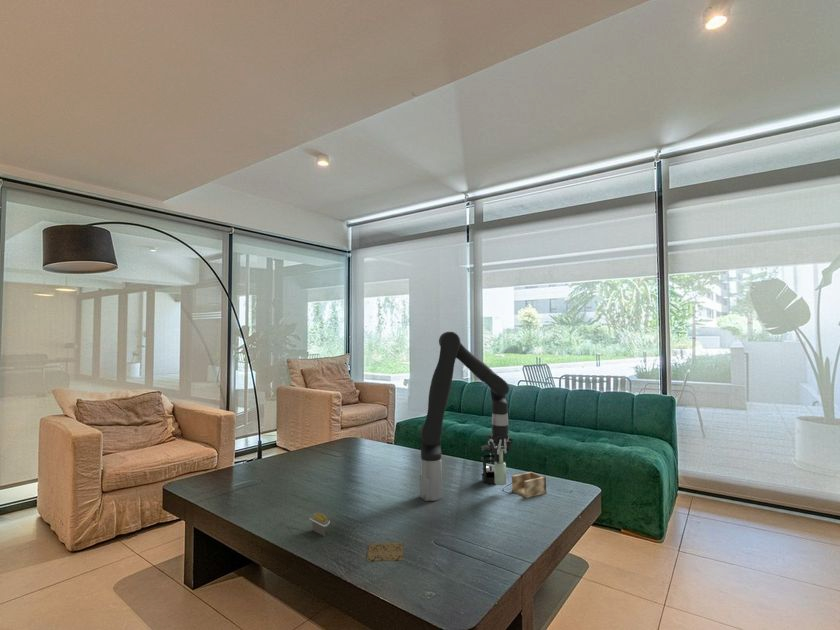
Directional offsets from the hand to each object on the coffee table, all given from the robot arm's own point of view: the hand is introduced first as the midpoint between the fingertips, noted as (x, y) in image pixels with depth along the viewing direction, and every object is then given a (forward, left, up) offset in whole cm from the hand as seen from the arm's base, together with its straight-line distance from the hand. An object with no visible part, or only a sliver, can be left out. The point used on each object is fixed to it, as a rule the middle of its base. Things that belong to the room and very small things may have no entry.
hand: (500, 461), depth 193 cm
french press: (+7, +16, -15) cm, 23 cm away
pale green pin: (0, 0, -10) cm, 10 cm away
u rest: (+13, -4, -15) cm, 20 cm away
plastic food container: (-82, +4, -16) cm, 83 cm away
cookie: (-66, -21, -15) cm, 71 cm away
